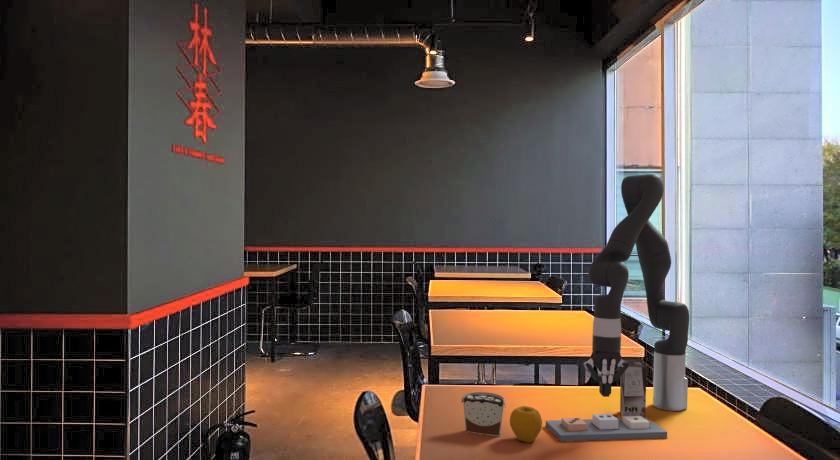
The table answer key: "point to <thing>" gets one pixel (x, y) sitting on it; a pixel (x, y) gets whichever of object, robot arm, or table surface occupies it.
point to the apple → (526, 423)
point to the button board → (605, 432)
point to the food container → (483, 412)
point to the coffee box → (633, 389)
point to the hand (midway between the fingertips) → (605, 395)
